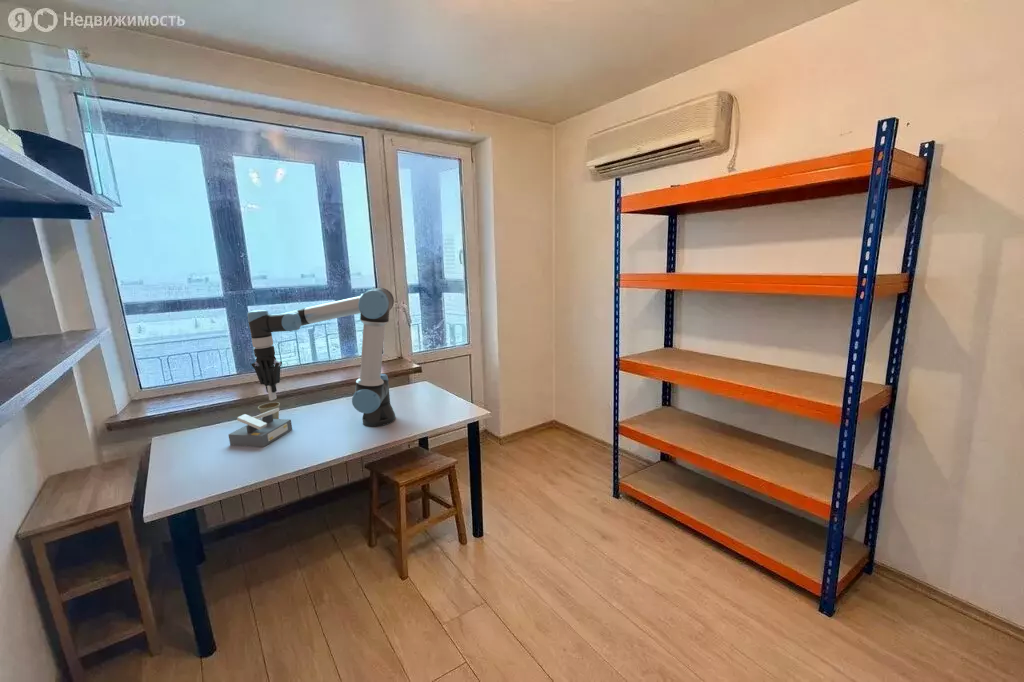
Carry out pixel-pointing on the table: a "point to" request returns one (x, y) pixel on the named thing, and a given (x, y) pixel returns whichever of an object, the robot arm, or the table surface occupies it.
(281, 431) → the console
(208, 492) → the table surface
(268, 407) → the flower pot
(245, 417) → the rocker
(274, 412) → the rocker
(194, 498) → the table surface
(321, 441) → the table surface
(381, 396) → the robot arm
